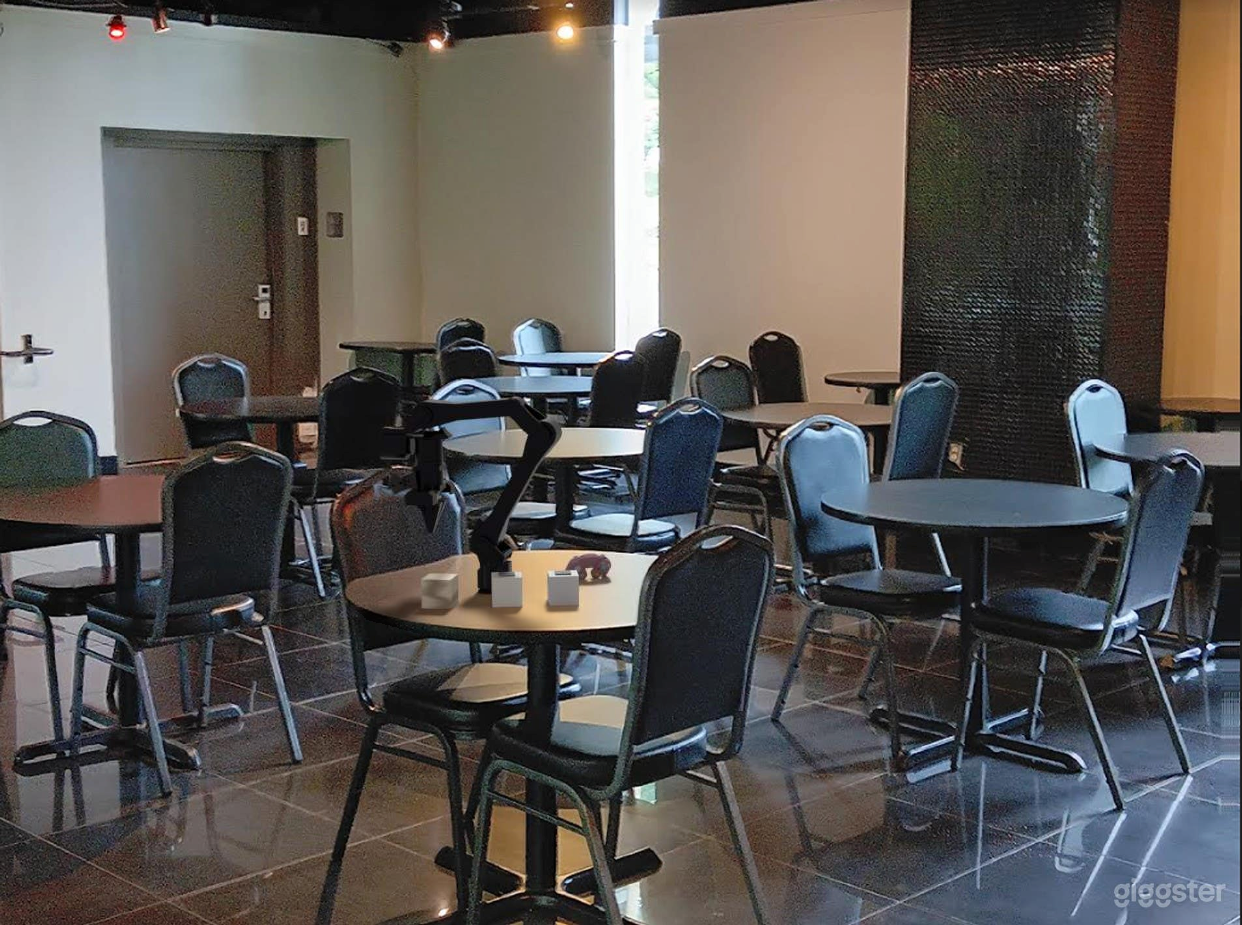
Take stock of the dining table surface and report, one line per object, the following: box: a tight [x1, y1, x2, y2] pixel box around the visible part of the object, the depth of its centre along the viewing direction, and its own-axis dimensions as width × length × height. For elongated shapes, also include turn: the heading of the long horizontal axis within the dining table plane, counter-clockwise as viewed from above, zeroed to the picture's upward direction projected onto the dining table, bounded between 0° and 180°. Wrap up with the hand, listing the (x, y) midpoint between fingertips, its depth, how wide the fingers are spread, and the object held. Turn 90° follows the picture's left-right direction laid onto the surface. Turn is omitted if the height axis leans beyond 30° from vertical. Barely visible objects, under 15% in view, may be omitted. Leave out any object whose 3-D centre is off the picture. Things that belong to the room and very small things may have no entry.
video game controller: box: [564, 553, 612, 581], centre depth 335 cm, size 10×5×7 cm, turn 107°
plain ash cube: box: [420, 572, 459, 610], centre depth 309 cm, size 6×6×6 cm
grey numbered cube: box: [546, 569, 580, 607], centre depth 312 cm, size 6×6×6 cm
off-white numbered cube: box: [491, 571, 524, 608], centre depth 311 cm, size 6×6×6 cm
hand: (430, 533), depth 324 cm, fingers closed
